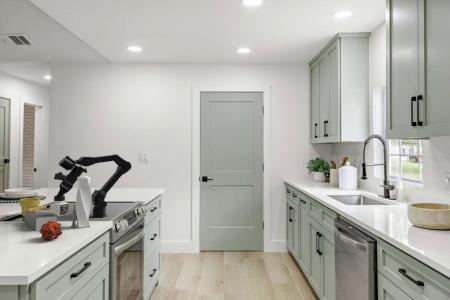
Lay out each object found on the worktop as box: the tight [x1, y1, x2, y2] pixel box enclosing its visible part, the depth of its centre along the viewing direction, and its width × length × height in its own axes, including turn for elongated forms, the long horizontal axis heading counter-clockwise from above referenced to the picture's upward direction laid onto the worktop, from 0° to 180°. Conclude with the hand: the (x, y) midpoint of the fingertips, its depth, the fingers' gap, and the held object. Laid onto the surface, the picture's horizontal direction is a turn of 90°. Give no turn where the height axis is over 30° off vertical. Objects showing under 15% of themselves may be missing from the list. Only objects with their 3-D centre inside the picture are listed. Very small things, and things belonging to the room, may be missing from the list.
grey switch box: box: [24, 208, 58, 232], centre depth 170 cm, size 10×22×6 cm, turn 43°
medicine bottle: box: [49, 194, 69, 217], centre depth 199 cm, size 7×7×12 cm
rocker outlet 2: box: [35, 209, 55, 214], centre depth 165 cm, size 8×4×1 cm, turn 133°
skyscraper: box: [71, 172, 94, 230], centre depth 170 cm, size 8×8×28 cm
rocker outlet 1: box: [28, 205, 48, 212], centre depth 174 cm, size 8×4×1 cm, turn 133°
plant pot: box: [19, 197, 41, 218], centre depth 194 cm, size 10×10×10 cm
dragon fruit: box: [39, 221, 63, 242], centre depth 145 cm, size 8×8×12 cm
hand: (56, 198), depth 181 cm, fingers closed
